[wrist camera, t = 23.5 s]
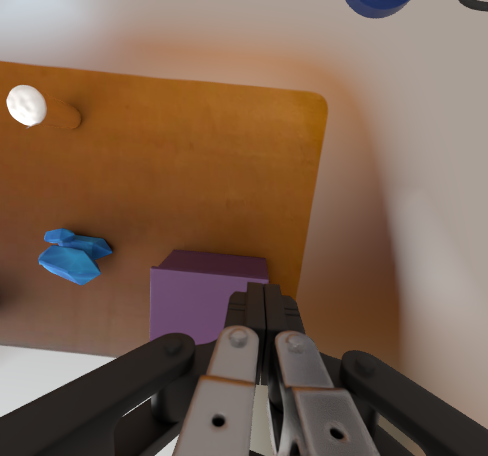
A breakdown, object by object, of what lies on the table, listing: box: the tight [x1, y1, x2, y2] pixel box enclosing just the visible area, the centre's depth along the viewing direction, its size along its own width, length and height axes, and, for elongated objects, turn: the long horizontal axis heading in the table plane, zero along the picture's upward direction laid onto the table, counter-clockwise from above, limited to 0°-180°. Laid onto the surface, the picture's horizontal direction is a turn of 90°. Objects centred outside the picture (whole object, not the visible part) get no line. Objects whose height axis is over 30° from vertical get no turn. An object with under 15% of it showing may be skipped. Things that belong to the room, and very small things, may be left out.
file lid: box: [150, 266, 269, 345], centre depth 38 cm, size 16×14×1 cm
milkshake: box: [7, 85, 81, 128], centre depth 35 cm, size 4×5×10 cm
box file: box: [159, 250, 268, 277], centre depth 42 cm, size 16×14×8 cm
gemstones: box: [38, 228, 113, 285], centre depth 41 cm, size 7×9×12 cm
